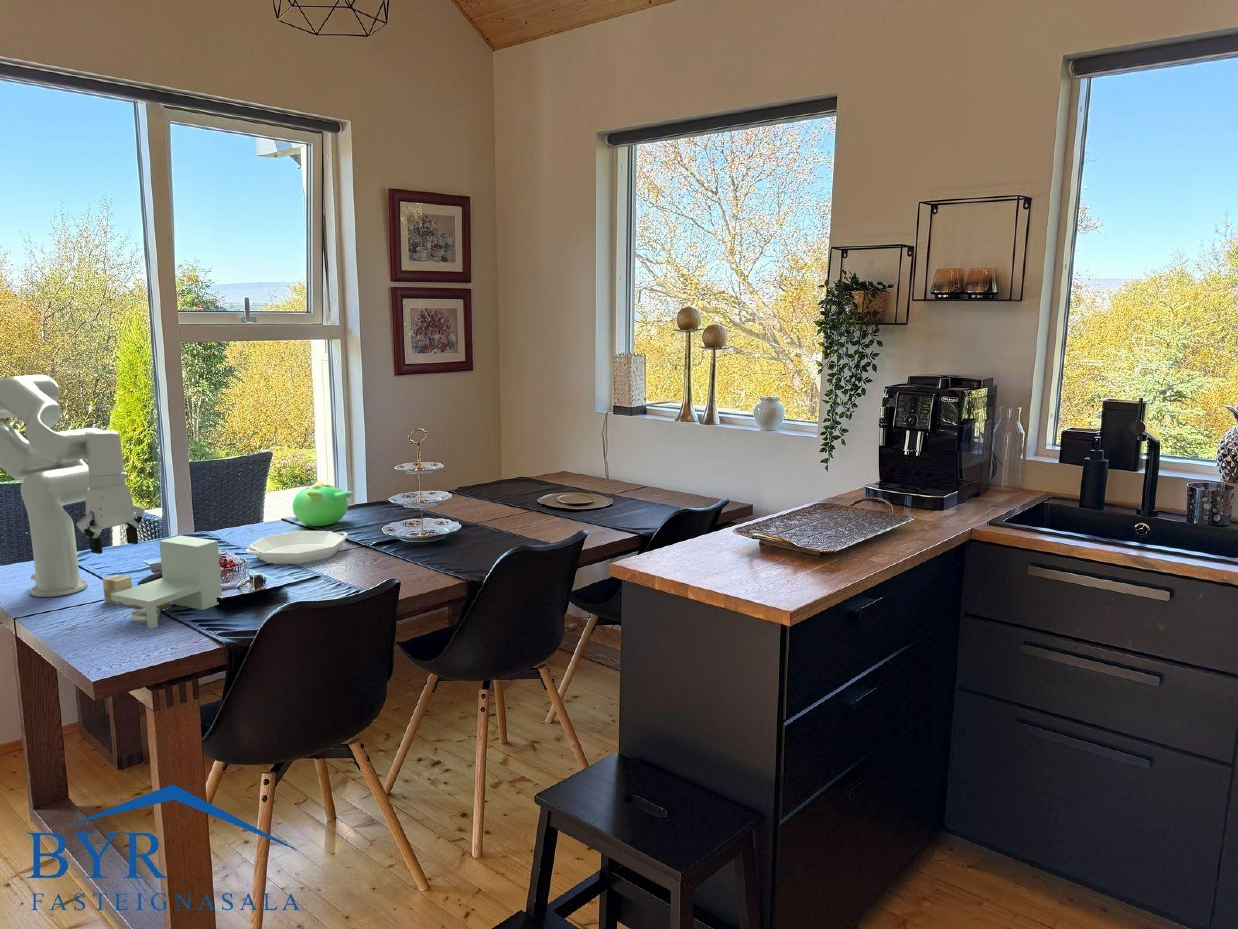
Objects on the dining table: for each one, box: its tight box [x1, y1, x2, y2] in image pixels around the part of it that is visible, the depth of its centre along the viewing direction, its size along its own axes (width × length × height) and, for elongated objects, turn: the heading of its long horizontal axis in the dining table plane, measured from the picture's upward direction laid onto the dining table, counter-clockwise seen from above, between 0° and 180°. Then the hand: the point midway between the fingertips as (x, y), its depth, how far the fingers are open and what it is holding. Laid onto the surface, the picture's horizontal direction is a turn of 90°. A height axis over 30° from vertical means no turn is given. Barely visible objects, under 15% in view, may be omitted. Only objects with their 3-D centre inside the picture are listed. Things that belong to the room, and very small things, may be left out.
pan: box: [244, 530, 349, 565], centre depth 264 cm, size 31×26×4 cm
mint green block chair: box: [137, 552, 229, 585], centre depth 244 cm, size 8×4×25 cm
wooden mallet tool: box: [102, 574, 172, 613], centre depth 218 cm, size 19×4×6 cm, turn 66°
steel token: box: [130, 608, 161, 625], centre depth 209 cm, size 6×6×2 cm
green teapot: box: [292, 480, 355, 527], centre depth 298 cm, size 18×17×15 cm
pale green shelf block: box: [111, 535, 223, 630], centre depth 213 cm, size 13×20×16 cm, turn 156°
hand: (115, 548), depth 219 cm, fingers open, 9 cm apart
